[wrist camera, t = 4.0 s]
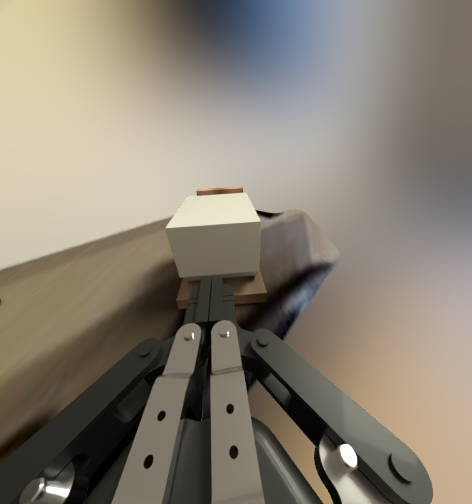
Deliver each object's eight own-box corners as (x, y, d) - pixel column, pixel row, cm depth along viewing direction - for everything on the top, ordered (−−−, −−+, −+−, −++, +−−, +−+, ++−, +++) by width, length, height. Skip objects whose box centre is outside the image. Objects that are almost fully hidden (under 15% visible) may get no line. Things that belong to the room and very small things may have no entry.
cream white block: (184, 292, 20) (165, 228, 16) (197, 244, 31) (187, 196, 26) (258, 286, 21) (260, 221, 16) (246, 240, 31) (246, 192, 26)
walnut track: (179, 309, 20) (159, 252, 16) (202, 221, 44) (197, 189, 40) (266, 301, 21) (269, 244, 16) (242, 218, 44) (242, 186, 40)
